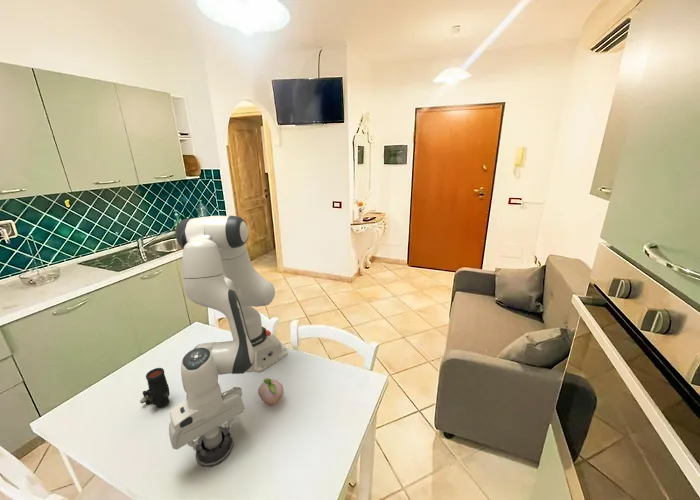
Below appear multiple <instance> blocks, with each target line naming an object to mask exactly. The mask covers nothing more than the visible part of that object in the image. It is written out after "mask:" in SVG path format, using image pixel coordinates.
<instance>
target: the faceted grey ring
mask: <svg viewBox="0 0 700 500" xmlns="http://www.w3.org/2000/svg"><path fill="white" fill-rule="evenodd" d="M219 427H220V429H221V434H222V439H223V443H222V444H221V445H220V446H219V447H218V448H216V449H214V450H210V451H206V450H205V446H204V441H203V435H202V436H200V437H198V438H197V439H196V440H197V442H198V444H199V448H198V449H196V450H195V459H196V462H197V464H198V465H199V466H201V467H203V468H212V467H215V466H218V465H219V464H222V463H223V462H224V461H225V460H226V459H228V457H229V456H230V455H231V454H232V451H233V449H234V442H233V440H234V439H233V437H232V436H231V435H232V433H231V432H230V430H229V431H226V429H225V426H222V425H220V426H219Z"/></svg>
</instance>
